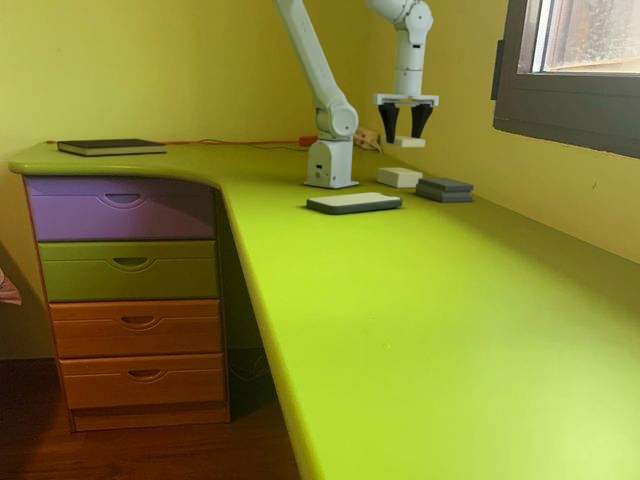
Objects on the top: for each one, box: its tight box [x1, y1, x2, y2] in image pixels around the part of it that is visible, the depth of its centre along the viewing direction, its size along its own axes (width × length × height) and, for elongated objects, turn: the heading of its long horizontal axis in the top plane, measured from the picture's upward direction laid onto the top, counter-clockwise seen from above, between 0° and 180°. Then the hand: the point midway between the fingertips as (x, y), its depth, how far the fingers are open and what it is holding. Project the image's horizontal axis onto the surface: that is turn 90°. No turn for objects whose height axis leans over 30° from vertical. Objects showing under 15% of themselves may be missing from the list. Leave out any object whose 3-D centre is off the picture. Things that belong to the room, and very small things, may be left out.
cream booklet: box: [380, 135, 426, 148], centre depth 145 cm, size 9×6×1 cm, turn 24°
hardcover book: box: [56, 138, 167, 158], centre depth 183 cm, size 16×23×2 cm
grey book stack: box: [415, 177, 475, 203], centre depth 135 cm, size 10×7×3 cm
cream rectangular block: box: [376, 167, 423, 189], centre depth 149 cm, size 9×6×3 cm, turn 24°
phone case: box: [305, 192, 404, 215], centre depth 121 cm, size 9×2×16 cm
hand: (402, 142), depth 145 cm, fingers closed on cream booklet, 5 cm apart
